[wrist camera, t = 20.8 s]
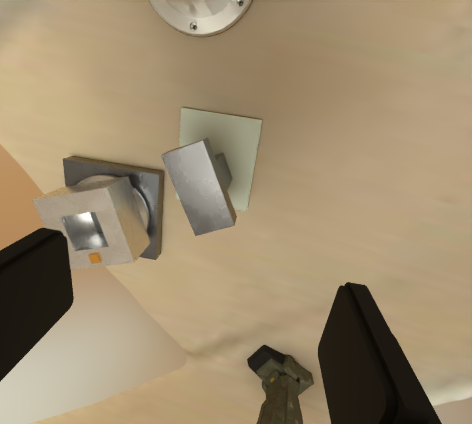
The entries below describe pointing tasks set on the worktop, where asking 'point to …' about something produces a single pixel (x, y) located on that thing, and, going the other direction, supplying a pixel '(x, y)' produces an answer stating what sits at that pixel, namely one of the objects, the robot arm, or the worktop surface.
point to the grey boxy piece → (98, 220)
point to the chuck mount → (140, 178)
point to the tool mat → (226, 146)
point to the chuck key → (202, 185)
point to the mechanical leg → (279, 386)
